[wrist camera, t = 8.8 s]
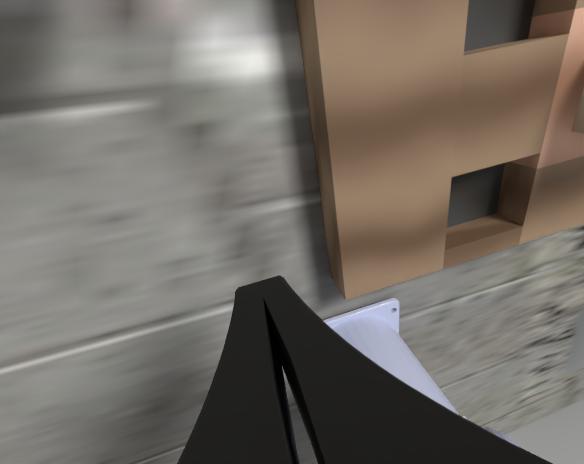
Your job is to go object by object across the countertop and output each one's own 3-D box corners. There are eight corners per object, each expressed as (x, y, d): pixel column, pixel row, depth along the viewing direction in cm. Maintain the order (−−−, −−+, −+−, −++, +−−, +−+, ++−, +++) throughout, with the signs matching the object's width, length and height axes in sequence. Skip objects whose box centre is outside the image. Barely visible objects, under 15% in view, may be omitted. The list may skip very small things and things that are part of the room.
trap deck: (585, 199, 25) (621, 211, 22) (331, 277, 21) (345, 300, 19) (700, -143, 15) (782, -179, 13) (282, -94, 12) (300, -131, 10)
